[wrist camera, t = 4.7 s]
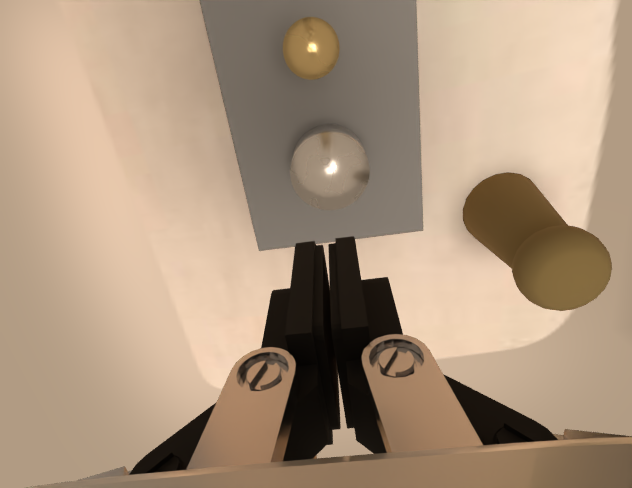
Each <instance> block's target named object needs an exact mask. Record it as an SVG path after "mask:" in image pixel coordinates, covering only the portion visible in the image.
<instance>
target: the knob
mask: <svg viewBox="0 0 632 488" xmlns="http://www.w3.org/2000/svg"><path fill="white" fill-rule="evenodd" d="M369 175H370V168H369V162H368V159H367V156H366V153H365V150H364V147H363V145H362V143H361V141H360V140H359V139H358V137H357V136H356V135H355V134H354V133H353V132H351V131H350V130H348V129H346V128H344V127H342V126H338V125H331V124H328V125H321V126H318V127H315V128H313V129H311V130H309V131H308V132H306V133H305V134H304V135H303V136H302V137H301V138H300V140H299V141H298V143H297V145H296V147H295V150H294V153H293V157H292V162H291V167H290V177H291V182H292V185H293V188H294V190H295V191H296V193H297V194H298V196H299V197H300V198H301V199H302V200H303V201H304V202H306V203H307V204H309V205H310V206H312V207H315V208H318V209H322V210H337V209H341V208H344V207H346V206H349V205H350V204H352V203H353V202H355V201H356V200H357V199H358V198H359V197H360V196H361V195H362V193H363V192H364V190H365V188H366V186H367V184H368V180H369Z"/></svg>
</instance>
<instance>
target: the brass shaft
mask: <svg viewBox="0 0 632 488" xmlns="http://www.w3.org/2000/svg"><path fill="white" fill-rule="evenodd" d="M339 51H340V45H339V40H338V36H337V34H336V32H335V30H334V29H333V28H332V26H331V25H330V24H329V23H327V22H326V21H324V20H323V19H320V18H317V17H305V18H302V19H299V20H298V21H296V22H295V23H294V24H292V25H291V27H290V28H289V29H288V31H287V33H286V35H285V37H284V41H283V55H284V59H285V62H286V64H287V66H288V67H289V69H290V70H291V71H292V72H293V73H294V74H296V75H297V76H299V77H301V78H304V79H308V80H314V79H319V78H322V77H324V76H326V75H327V74H328V73H329V72H330V71H331V70H332V69H333V68H334V66H335V65H336V63H337V60H338V57H339Z"/></svg>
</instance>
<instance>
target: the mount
mask: <svg viewBox="0 0 632 488" xmlns="http://www.w3.org/2000/svg"><path fill="white" fill-rule="evenodd" d="M200 4H201V8H202V13H203V17H204V21H205V25H206V29H207V34H208V38H209V42H210V46H211V50H212V55H213V59H214V63H215V67H216V72H217V76H218V80H219V84H220V88H221V93H222V97H223V101H224V105H225V109H226V114H227V118H228V122H229V126H230V131H231V135H232V139H233V143H234V147H235V152H236V156H237V160H238V164H239V168H240V173H241V177H242V181H243V185H244V190H245V194H246V198H247V202H248V206H249V211H250V215H251V219H252V223H253V227H254V232H255V236H256V240H257V244H258V249H259V251H263V250H271V249H279V248H287V247H295V245H296V243H302V242H310V241H315V243H316V244H319V243H327V242H335V241H336V240H335V238H342V237H350V236H354V237H355V239H360V238H368V237H376V236H384V235H392V234H400V233H408V232H416V231H423V207H422V174H421V142H420V109H419V76H418V43H417V10H416V0H200ZM305 17H317V18H320V19H323V20H324V21H326V22H327V23H329V24H330V25H331V26H332V28H333V29H334V30H335V32H336V34H337V36H338V40H339V45H340V51H339V57H338V60H337V63H336V65H335V66H334V68H333V69H332V70H331V71H330V72H329V73H328V74H327V75H326V76H324V77H322V78H319V79H314V80H308V79H304V78H301V77H299V76H297V75H296V74H294V73H293V72H292V71H291V70H290V69H289V67H288V66H287V64H286V62H285V59H284V55H283V41H284V37H285V35H286V33H287V31H288V29H289V28H290V27H291V25H292V24H294V23H295V22H296V21H298V20H299V19H302V18H305ZM328 124H331V125H338V126H342V127H344V128H346V129H348V130H350V131H351V132H353V133H354V134H355V135H356V136H357V137H358V139H359V140H360V141H361V143H362V145H363V147H364V150H365V153H366V156H367V159H368V162H369V168H370V175H369V180H368V184H367V186H366V188H365V190H364V192H363V193H362V195H361V196H360V197H359V198H358V199H357V200H356V201H355V202H353V203H352V204H350V205H349V206H346V207H344V208H341V209H337V210H322V209H318V208H315V207H312V206H310V205H309V204H307V203H306V202H304V201H303V200H302V199H301V198H300V197H299V196H298V194H297V193H296V191H295V190H294V188H293V185H292V182H291V177H290V167H291V162H292V157H293V153H294V150H295V147H296V145H297V143H298V141H299V140H300V138H301V137H302V136H303V135H304V134H305V133H306V132H308V131H309V130H311V129H313V128H315V127H318V126H321V125H328Z"/></svg>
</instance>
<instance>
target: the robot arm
mask: <svg viewBox="0 0 632 488" xmlns="http://www.w3.org/2000/svg"><path fill="white" fill-rule="evenodd" d="M335 240H336V243H334V244H329V274H330V287H329V280H328V274H327V268H326V261H325V255H324V248H323V245H318V246H316V243H315V241H310V242H302V243H296V245H295V253H294V261H293V270H292V278H291V287H290V288H289V289H280V290H273V291H272V294H271V298H270V304H269V309H268V315H267V320H266V325H265V331H264V336H263V342H262V347H261V348H260V349H257V350H254V351H251V352H250V353H248V354H246V355H244V356H243V357H242V358H241V359H240V360H238V361H237V362H236V363H235V365H234V366H233V368H232V370H231V372H230V374H229V376H228V378H227V380H226V383H225V385H224V387H223V389H222V391H221V394H220V396H219V398H218V400H217V402H216V403H215V404H214V405H212V406H211V407H210V408H208V409H207V410H206V411H204V412H203V413H202V414H200V415H199V416H198V417H196V418H195V419H194V420H192V421H191V422H190V423H188V424H187V425H186V426H184V427H183V428H182V429H180V430H179V431H178V432H176V433H175V434H174V435H173V436H171V437H170V438H168V439H167V440H166V441H164V442H163V443H162V444H160V445H159V446H158V447H156V448H155V449H154V450H152V451H151V452H150V453H148V454H147V455H146V456H145V457H144V458H143V459H142V460H140V461H139V462H138V463H137V464H136V466H135V467H134V468H133V470H131V471H127V470H126V468H125V466H124V467H121V468H117V469H114V470H110V471H107V472H104V473H101V474H97V475H94V476H90V477H87V478H83V479H80V480H77V481H69V482H61V483H54V484H47V485H41V486H33V487H26V488H632V436H625V435H615V434H605V433H597V432H587V431H579V430H569V429H565V430H564V435H558V434H552V433H551V432H550V431H549V430H548V429H547V428H545V427H544V426H542V425H541V424H539V423H537V422H536V421H534V420H532V419H530V418H528V417H526V416H524V415H522V414H521V413H519V412H517V411H515V410H513V409H511V408H509V407H507V406H505V405H503V404H501V403H499V402H497V401H495V400H493V399H491V398H489V397H487V396H485V395H483V394H481V393H479V392H477V391H475V390H473V389H471V388H469V387H467V386H465V385H463V384H461V383H460V382H458V381H456V380H454V379H452V378H449V377H447V376H445V375H444V374H443V373H442V372H441V370H440V368H439V366H438V364H437V363H436V361H435V359H434V357H433V355H432V354H431V352H430V350H429V349H428V348H427V346H426V345H425V344H424V343H423V342H421V341H419V340H418V339H416V338H414V337H411V336H408V335H403V333H402V329H401V325H400V321H399V317H398V314H397V310H396V306H395V302H394V298H393V295H392V291H391V287H390V283H389V280H388V277H384V278H375V279H367V280H361V276H360V269H359V263H358V257H357V250H356V244H355V237H354V236H350V237H342V238H335ZM338 375H339V381H340V387H341V392H342V399H343V405H344V411H345V418H346V424H347V428H355V434H356V440H357V441H358V442H359V443H361V444H362V445H364V446H365V447H366V448H367V449H369V450H370V451H371V452H373V453H374V454H367V455H355V456H343V457H331V458H318V459H317V456H316V455H317V454H318V453H319V452H320V451H321V450H322V449H323V448H324V447H325V446H326V445H331V444H333V434H332V430H334V429H340V407H339V387H338Z"/></svg>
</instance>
